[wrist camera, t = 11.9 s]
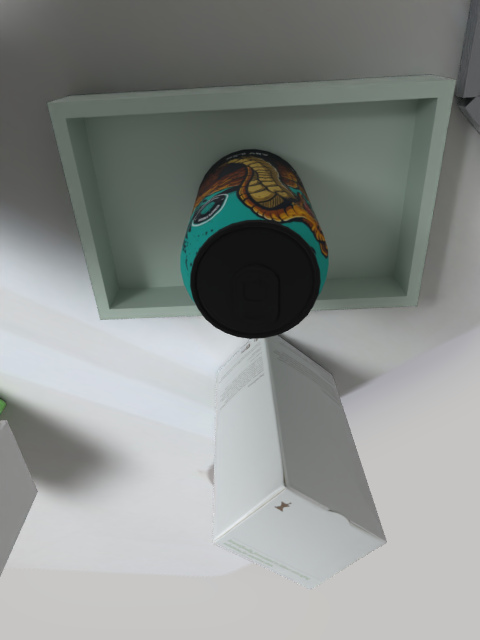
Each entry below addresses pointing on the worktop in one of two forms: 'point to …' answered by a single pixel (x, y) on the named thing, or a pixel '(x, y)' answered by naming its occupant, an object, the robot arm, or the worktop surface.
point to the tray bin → (263, 134)
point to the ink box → (2, 405)
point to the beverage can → (253, 247)
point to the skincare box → (288, 467)
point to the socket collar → (471, 68)
